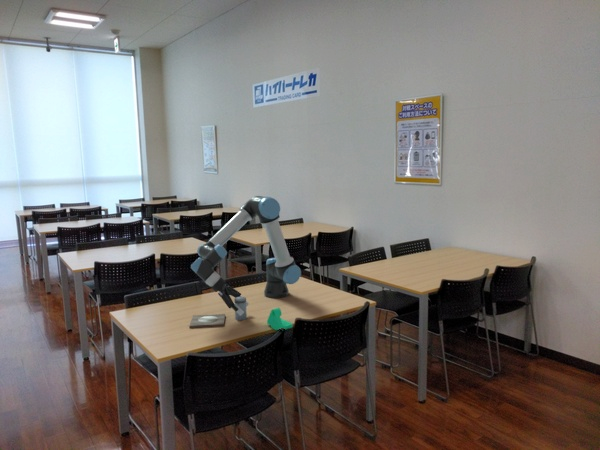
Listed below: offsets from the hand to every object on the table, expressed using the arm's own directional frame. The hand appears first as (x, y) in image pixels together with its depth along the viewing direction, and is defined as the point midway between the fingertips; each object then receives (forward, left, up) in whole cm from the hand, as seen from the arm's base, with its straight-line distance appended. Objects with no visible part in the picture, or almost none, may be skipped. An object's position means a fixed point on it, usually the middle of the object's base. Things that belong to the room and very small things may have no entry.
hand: (244, 309), depth 242 cm
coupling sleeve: (0, -2, -5) cm, 5 cm away
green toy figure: (+15, +18, -5) cm, 24 cm away
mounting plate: (+3, -19, -5) cm, 20 cm away
